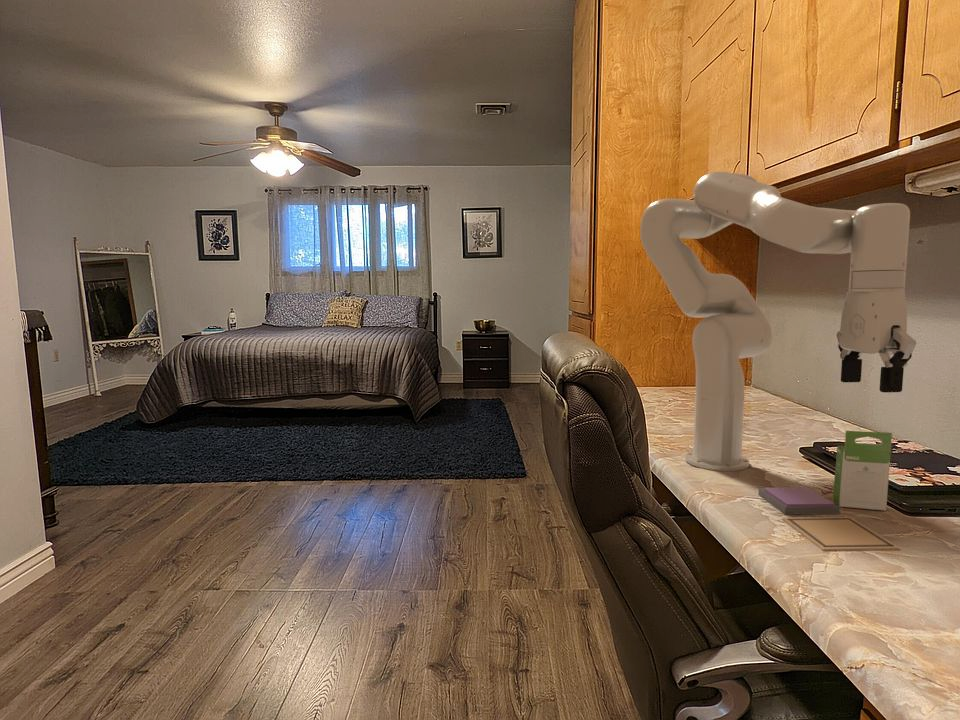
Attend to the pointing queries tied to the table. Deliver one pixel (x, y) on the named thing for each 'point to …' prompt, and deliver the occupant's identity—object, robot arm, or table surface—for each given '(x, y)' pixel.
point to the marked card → (839, 534)
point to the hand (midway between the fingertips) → (869, 386)
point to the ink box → (862, 471)
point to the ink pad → (798, 501)
